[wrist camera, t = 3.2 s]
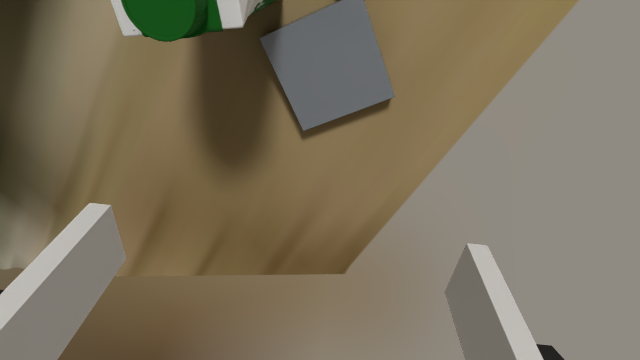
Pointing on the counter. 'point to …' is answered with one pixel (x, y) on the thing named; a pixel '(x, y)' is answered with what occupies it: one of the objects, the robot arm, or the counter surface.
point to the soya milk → (182, 16)
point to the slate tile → (329, 63)
